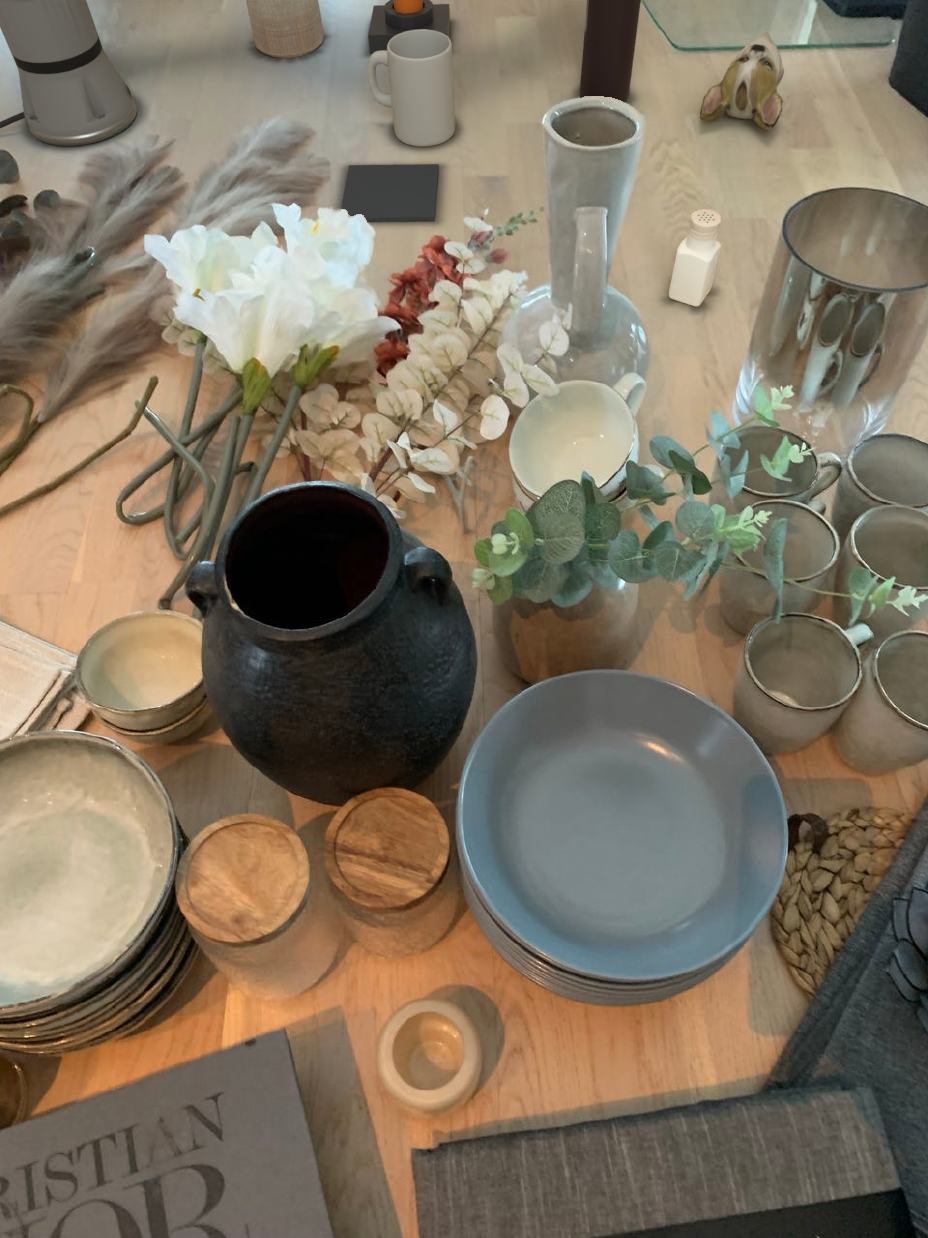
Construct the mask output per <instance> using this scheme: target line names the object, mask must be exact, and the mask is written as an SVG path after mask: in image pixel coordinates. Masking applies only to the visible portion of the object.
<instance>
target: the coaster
mask: <svg viewBox="0 0 928 1238" xmlns="http://www.w3.org/2000/svg"><path fill="white" fill-rule="evenodd" d="M439 166H440V165H439V164H438V163H432V164H431V163H419V164H418V163H417V164H416V163H415V164H414V163H413V164H412V163H411V164H409V163H408V164H349V165H348V167H347V172H346V173H347V175H346V179H345V184H344V190H343V197H342V200H341V201H342V202H341V206H340V210H341V209H346V210H347V211H348V214H349V215H350V216H354V215H356V214H362V215H364V217H365V218H366V220H367V222H435V221H436V209H437V195H438V184H439V170H440V167H439Z"/></svg>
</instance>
